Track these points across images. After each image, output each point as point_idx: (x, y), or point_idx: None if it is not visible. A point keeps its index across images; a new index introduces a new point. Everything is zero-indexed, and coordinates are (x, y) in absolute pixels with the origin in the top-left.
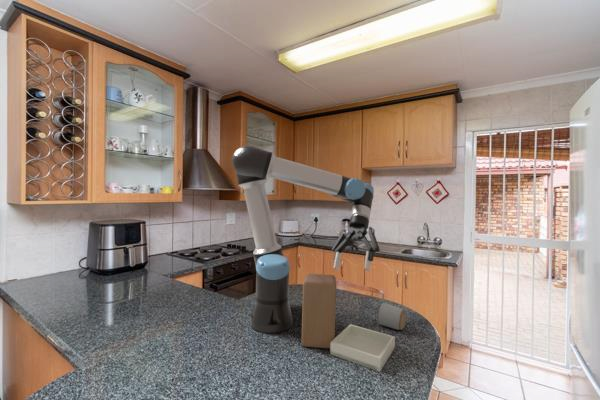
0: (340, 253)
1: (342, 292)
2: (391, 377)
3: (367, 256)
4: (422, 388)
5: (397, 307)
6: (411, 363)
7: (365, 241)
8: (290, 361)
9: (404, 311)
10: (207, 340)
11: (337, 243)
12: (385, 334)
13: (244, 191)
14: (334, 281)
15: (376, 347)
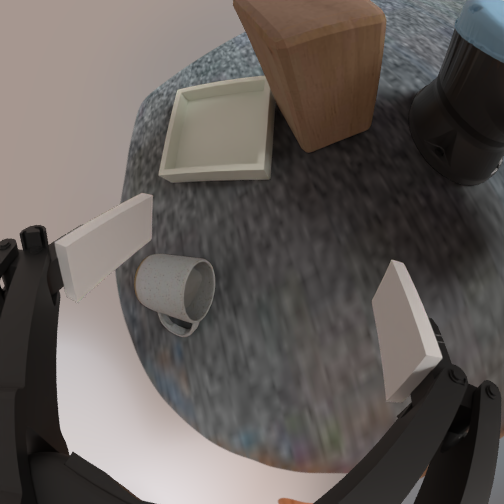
0: (400, 386)
1: None
2: (172, 101)
3: (89, 222)
4: (139, 110)
5: (146, 289)
6: (147, 153)
7: (10, 325)
8: None
9: (134, 283)
10: None
11: (473, 453)
12: (176, 171)
13: None
14: (241, 3)
15: (197, 147)
